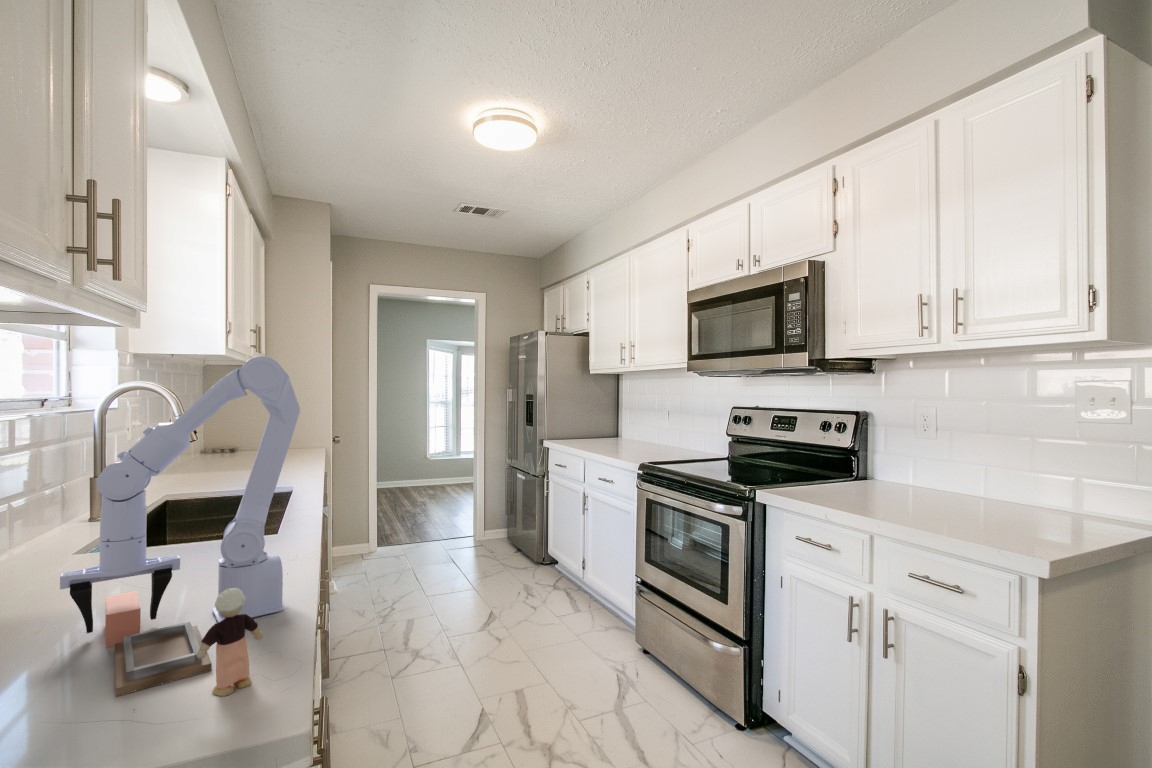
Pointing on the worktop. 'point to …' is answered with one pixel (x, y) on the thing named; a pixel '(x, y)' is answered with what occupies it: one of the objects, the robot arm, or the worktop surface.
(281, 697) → the worktop surface
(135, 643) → the cradle
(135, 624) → the block
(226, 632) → the grandmother figurine
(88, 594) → the robot arm
